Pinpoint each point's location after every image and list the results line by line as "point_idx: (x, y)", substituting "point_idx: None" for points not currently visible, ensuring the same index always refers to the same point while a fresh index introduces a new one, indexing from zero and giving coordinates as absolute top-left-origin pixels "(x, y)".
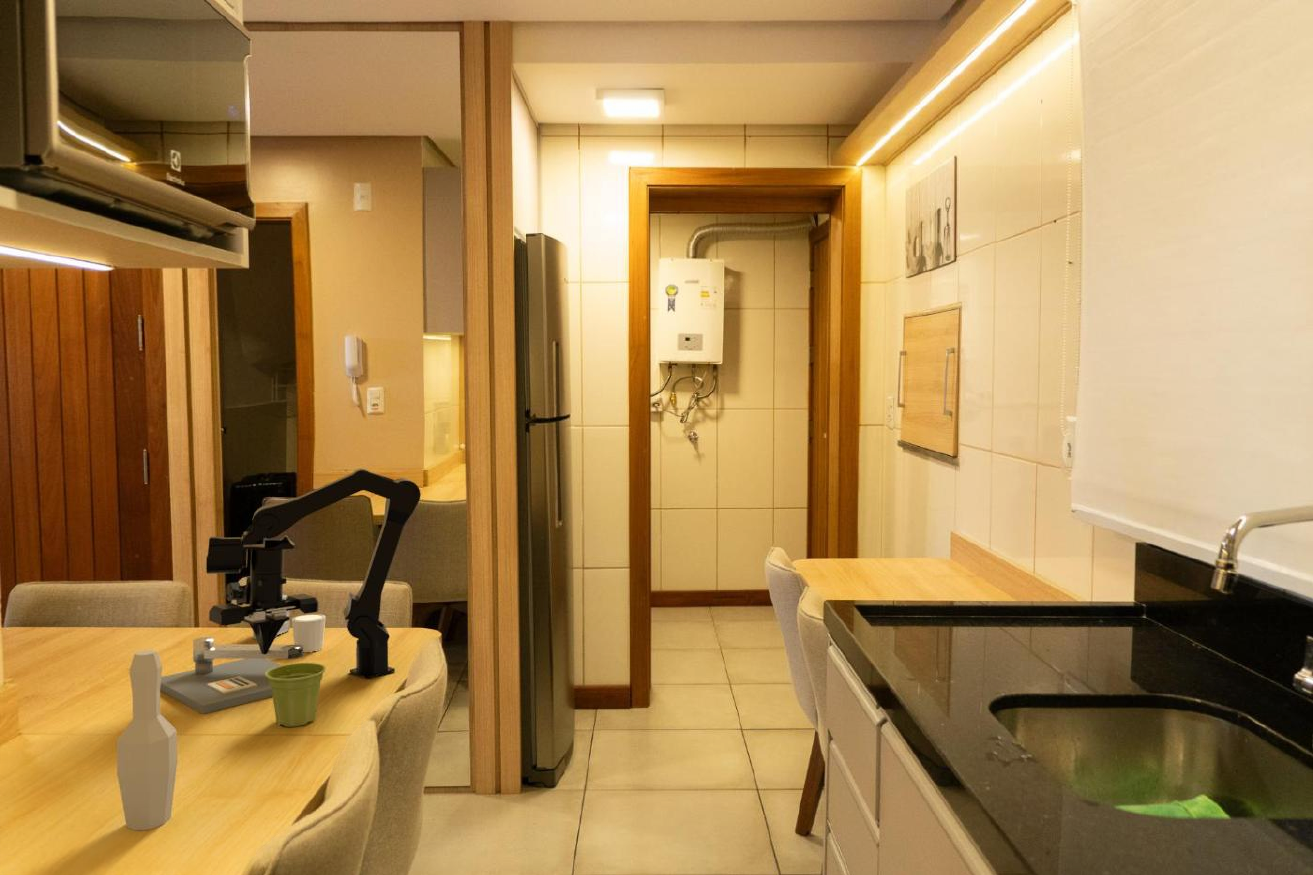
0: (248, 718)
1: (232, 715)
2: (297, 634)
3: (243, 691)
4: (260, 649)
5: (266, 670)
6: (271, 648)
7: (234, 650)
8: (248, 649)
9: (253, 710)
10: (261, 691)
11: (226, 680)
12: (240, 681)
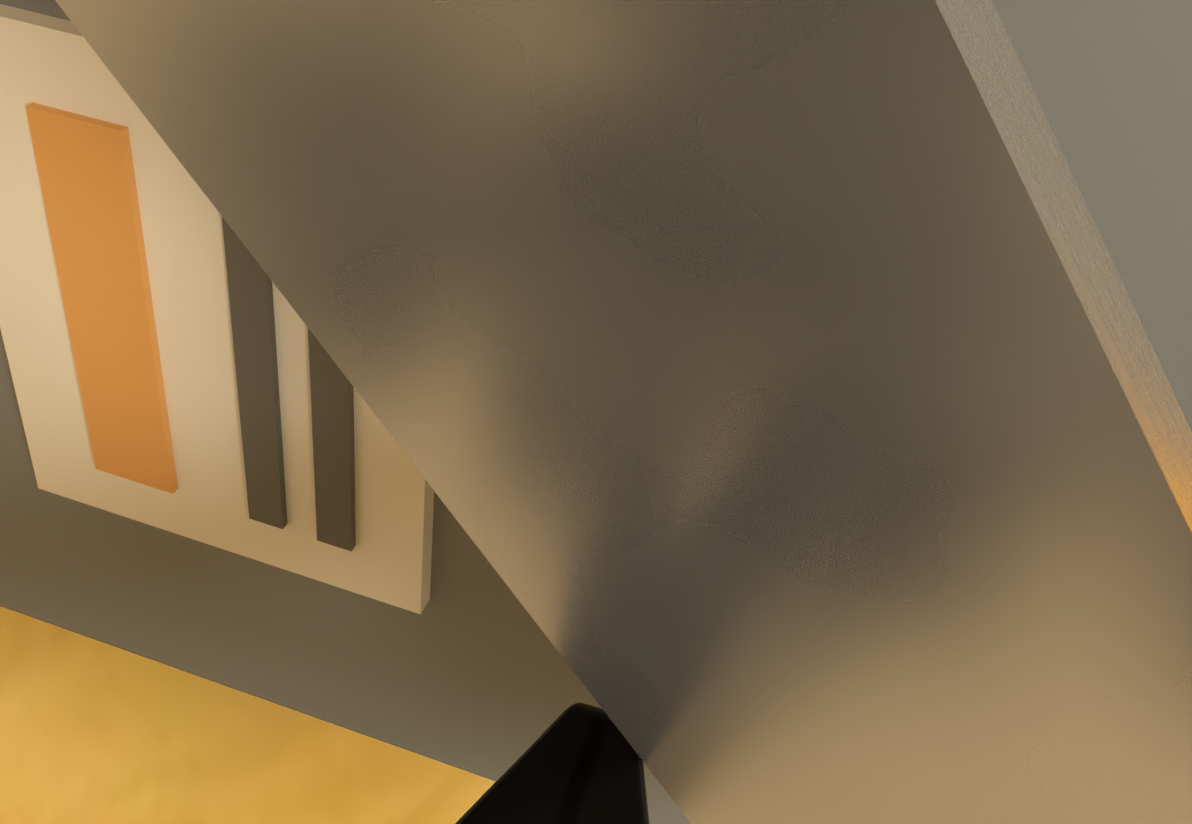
0: (159, 817)
1: (89, 698)
2: None
3: (235, 602)
4: (510, 774)
5: None
6: (844, 810)
7: (109, 63)
8: (430, 371)
9: (245, 763)
10: (379, 733)
11: None
12: (311, 381)
